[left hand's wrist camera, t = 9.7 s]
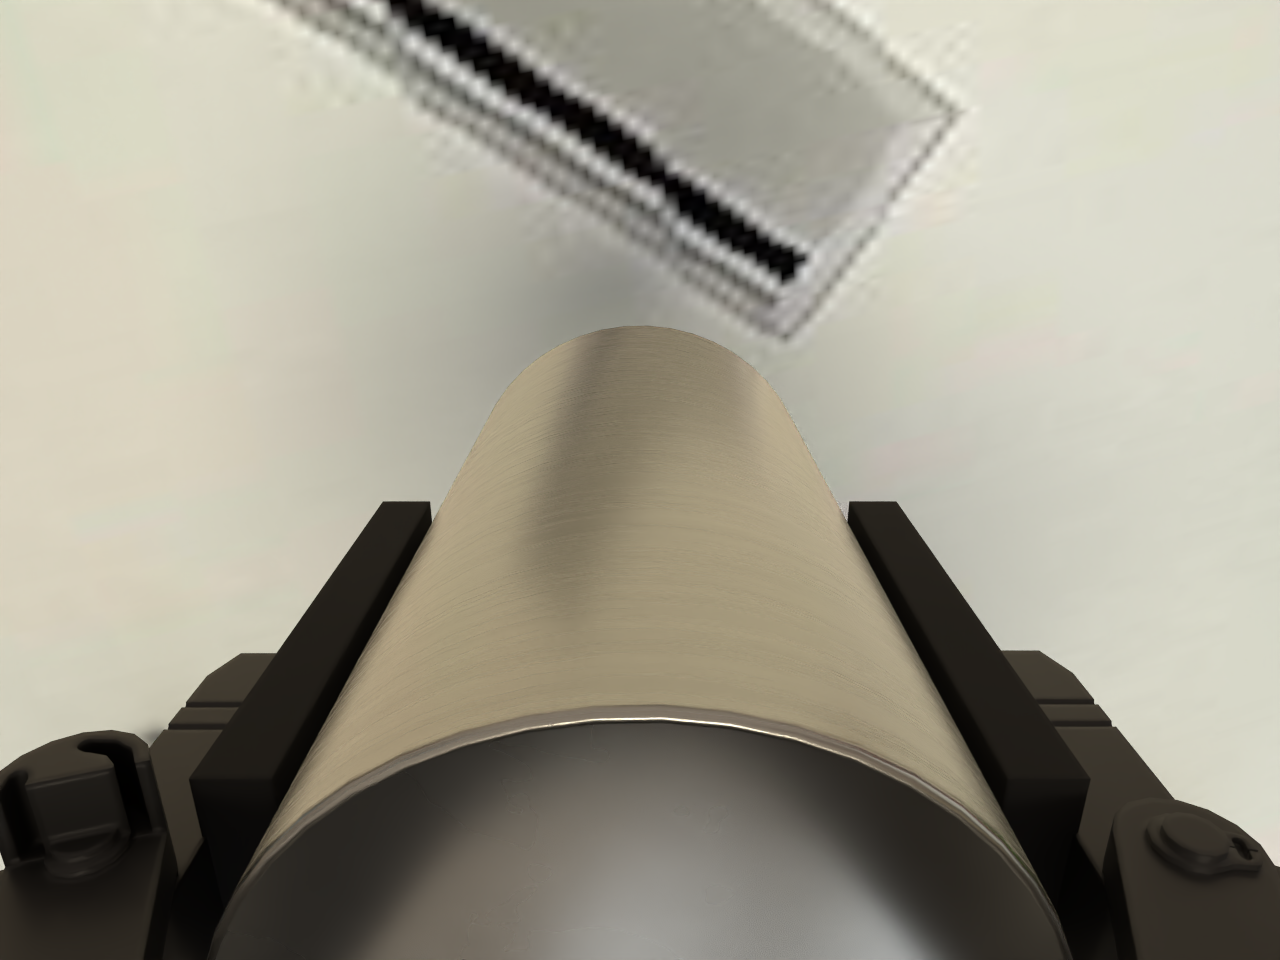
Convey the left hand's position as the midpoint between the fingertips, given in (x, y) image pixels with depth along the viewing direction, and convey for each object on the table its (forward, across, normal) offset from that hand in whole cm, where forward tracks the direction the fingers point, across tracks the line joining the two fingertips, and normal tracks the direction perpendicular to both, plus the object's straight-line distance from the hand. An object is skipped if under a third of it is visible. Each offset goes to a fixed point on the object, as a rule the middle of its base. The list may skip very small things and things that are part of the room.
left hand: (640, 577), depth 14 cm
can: (+4, 0, 0) cm, 4 cm away
